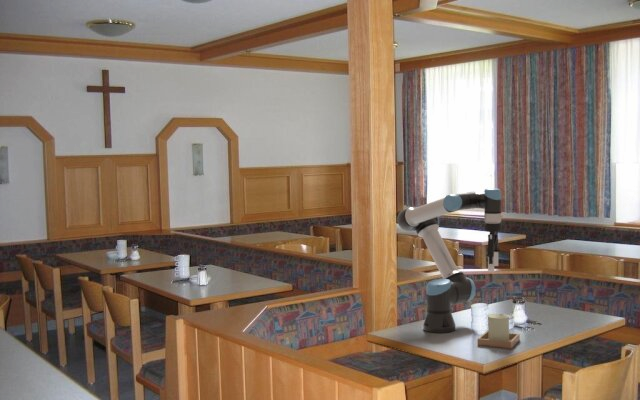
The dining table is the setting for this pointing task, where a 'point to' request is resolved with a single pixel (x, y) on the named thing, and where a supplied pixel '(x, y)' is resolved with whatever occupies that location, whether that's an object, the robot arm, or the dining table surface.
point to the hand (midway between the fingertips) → (493, 268)
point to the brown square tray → (486, 342)
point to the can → (498, 327)
